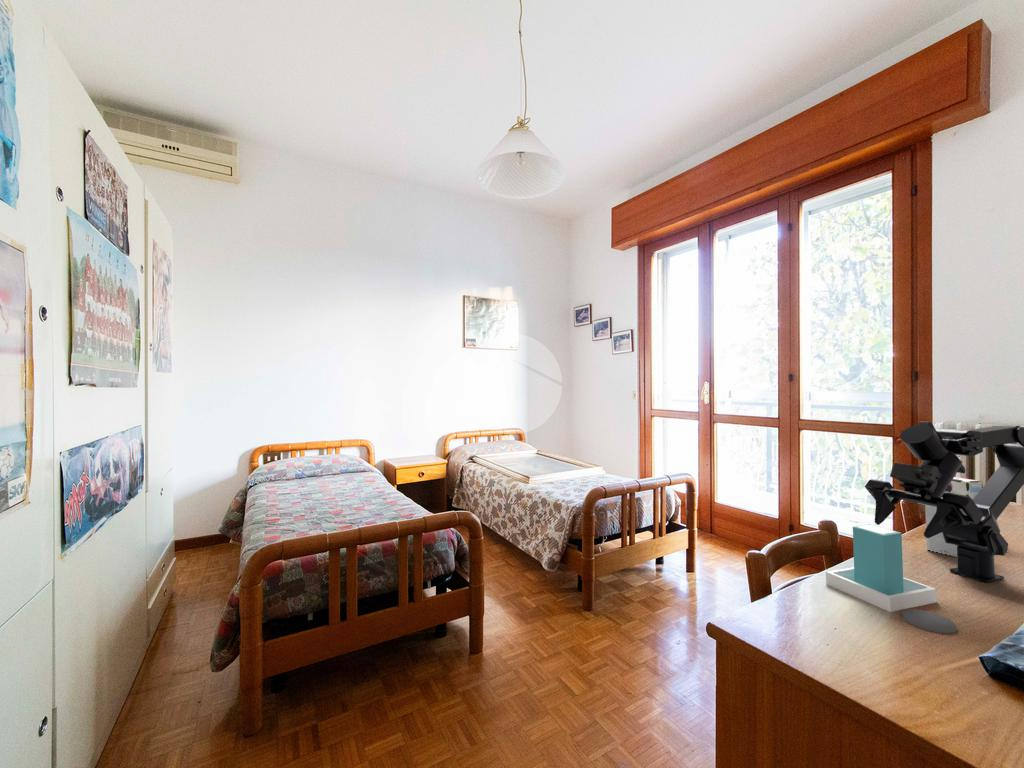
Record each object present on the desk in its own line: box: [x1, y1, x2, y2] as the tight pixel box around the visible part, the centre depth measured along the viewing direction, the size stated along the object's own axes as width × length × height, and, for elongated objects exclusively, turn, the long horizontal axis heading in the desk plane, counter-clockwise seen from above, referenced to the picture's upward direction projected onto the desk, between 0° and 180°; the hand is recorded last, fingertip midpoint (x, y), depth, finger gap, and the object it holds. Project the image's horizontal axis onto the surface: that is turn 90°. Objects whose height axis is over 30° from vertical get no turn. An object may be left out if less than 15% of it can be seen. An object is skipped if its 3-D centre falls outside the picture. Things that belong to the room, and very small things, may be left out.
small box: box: [924, 505, 957, 558], centre depth 112 cm, size 8×6×13 cm
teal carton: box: [852, 524, 904, 595], centre depth 90 cm, size 5×6×13 cm
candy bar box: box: [945, 476, 984, 500], centre depth 125 cm, size 11×5×16 cm, turn 5°
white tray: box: [825, 566, 938, 613], centre depth 89 cm, size 13×13×3 cm
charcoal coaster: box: [901, 608, 957, 635], centre depth 78 cm, size 7×7×1 cm
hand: (899, 529), depth 91 cm, fingers open, 9 cm apart
